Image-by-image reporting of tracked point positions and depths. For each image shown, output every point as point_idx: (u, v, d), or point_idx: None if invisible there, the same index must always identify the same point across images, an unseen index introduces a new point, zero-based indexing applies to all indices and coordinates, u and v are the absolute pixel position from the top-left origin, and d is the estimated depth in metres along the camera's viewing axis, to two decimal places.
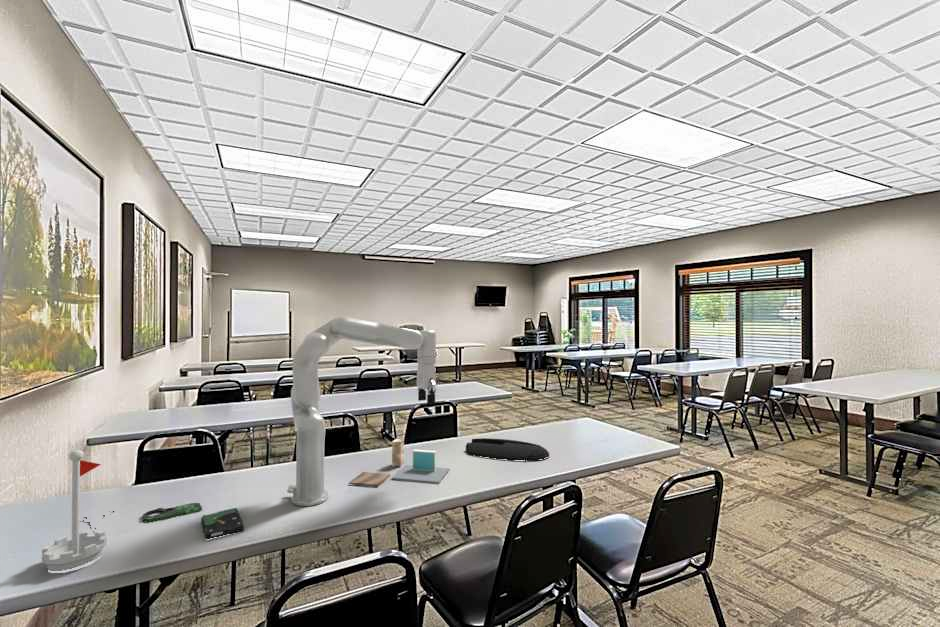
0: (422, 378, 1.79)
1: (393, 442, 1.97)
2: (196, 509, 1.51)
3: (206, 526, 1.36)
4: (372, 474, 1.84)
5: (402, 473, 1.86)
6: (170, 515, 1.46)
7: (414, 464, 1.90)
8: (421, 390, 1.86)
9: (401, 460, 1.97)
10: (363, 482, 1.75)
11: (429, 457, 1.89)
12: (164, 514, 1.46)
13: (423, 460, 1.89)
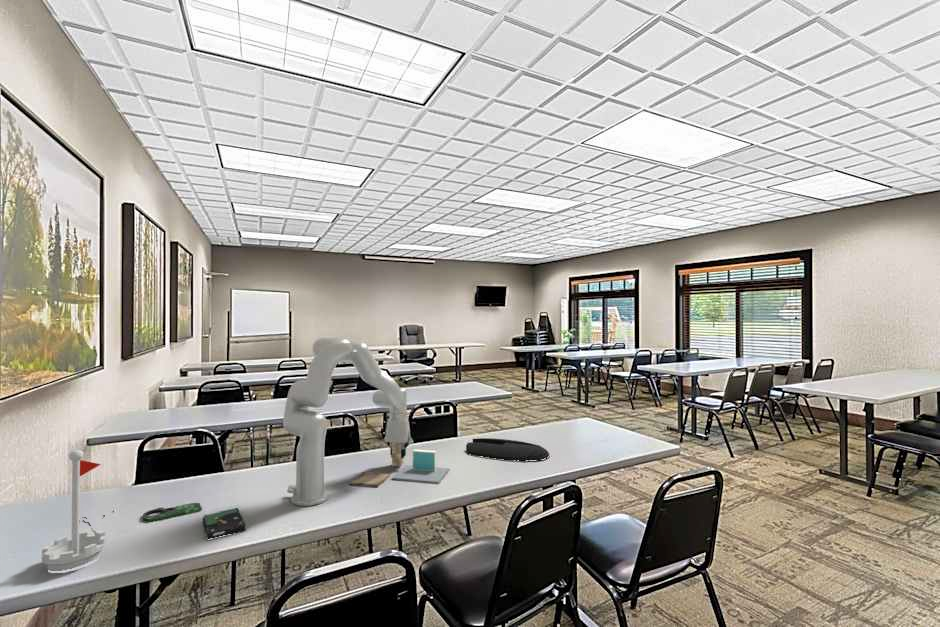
0: (401, 433, 1.95)
1: None
2: (196, 509, 1.50)
3: (208, 526, 1.36)
4: (372, 474, 1.84)
5: (402, 473, 1.86)
6: (170, 515, 1.46)
7: (414, 464, 1.90)
8: None
9: (401, 460, 1.97)
10: (363, 482, 1.75)
11: (429, 457, 1.89)
12: (164, 514, 1.46)
13: (423, 460, 1.89)
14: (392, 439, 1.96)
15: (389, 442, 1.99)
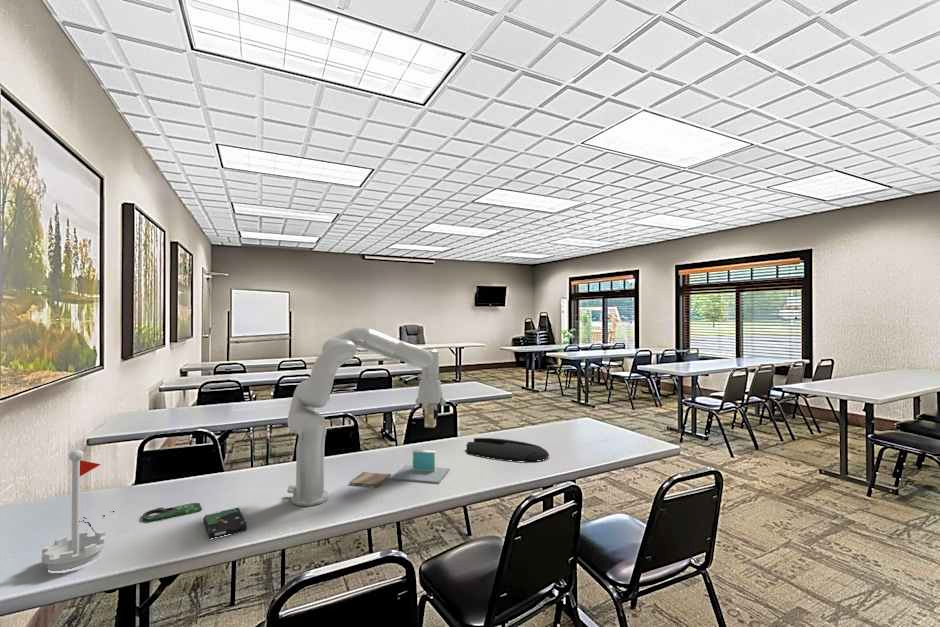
0: (433, 393, 1.95)
1: (426, 403, 1.97)
2: (196, 509, 1.50)
3: (209, 526, 1.36)
4: (372, 474, 1.84)
5: (402, 473, 1.86)
6: (170, 515, 1.46)
7: (414, 464, 1.90)
8: None
9: (433, 421, 1.97)
10: (363, 482, 1.75)
11: (429, 457, 1.89)
12: (164, 514, 1.46)
13: (423, 460, 1.89)
14: (425, 400, 1.96)
15: (421, 403, 1.99)
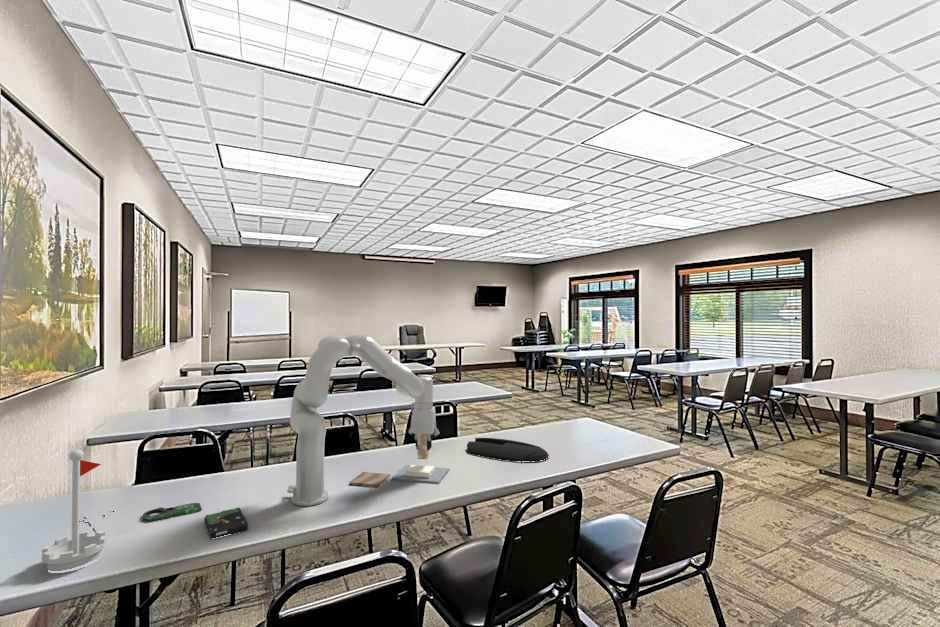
0: (427, 424, 1.86)
1: None
2: (196, 509, 1.50)
3: (210, 525, 1.37)
4: (372, 474, 1.84)
5: (402, 473, 1.86)
6: (170, 515, 1.46)
7: None
8: None
9: (427, 452, 1.88)
10: (363, 482, 1.75)
11: None
12: (164, 514, 1.46)
13: None
14: (418, 430, 1.87)
15: (414, 433, 1.90)
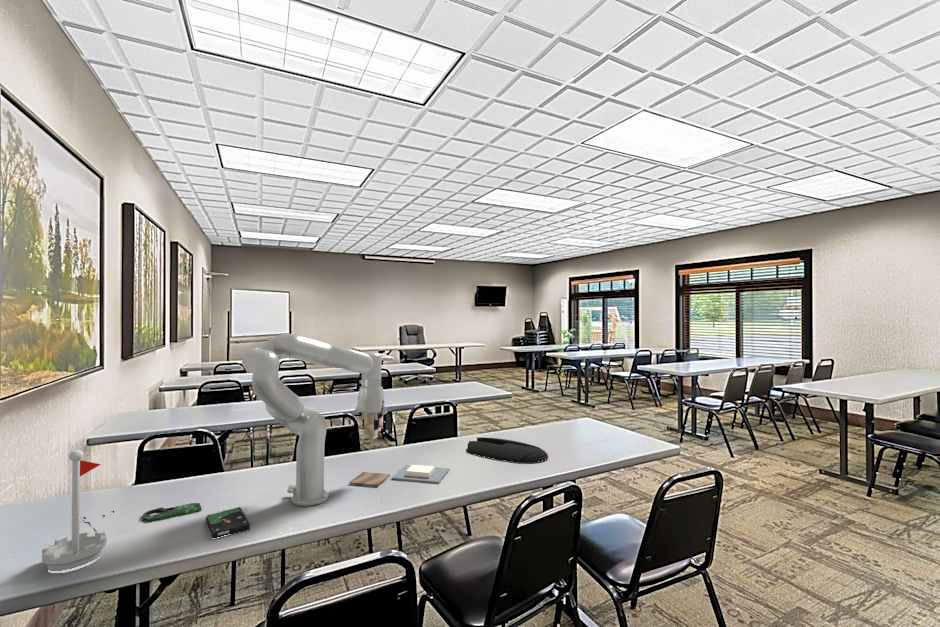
0: (373, 402, 1.77)
1: (365, 412, 1.78)
2: (195, 509, 1.50)
3: (212, 525, 1.37)
4: (372, 474, 1.84)
5: (402, 473, 1.86)
6: (169, 515, 1.46)
7: None
8: None
9: (374, 432, 1.78)
10: (363, 482, 1.75)
11: None
12: (164, 514, 1.46)
13: None
14: (364, 408, 1.78)
15: (361, 412, 1.80)
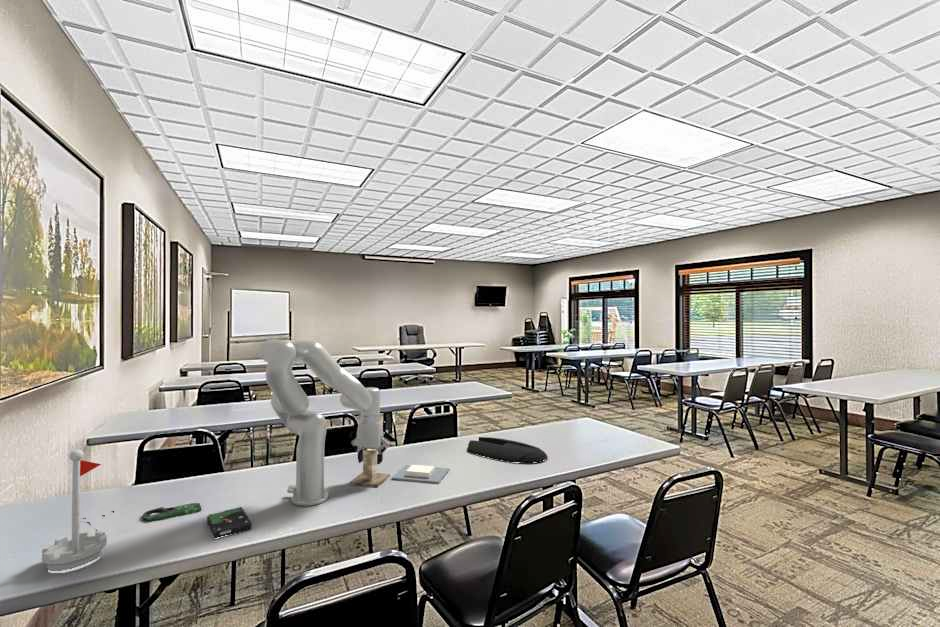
0: (372, 438, 1.77)
1: (364, 452, 1.78)
2: (195, 509, 1.50)
3: (213, 525, 1.37)
4: None
5: (402, 473, 1.86)
6: (169, 515, 1.46)
7: None
8: (361, 451, 1.80)
9: (373, 472, 1.78)
10: (363, 482, 1.75)
11: None
12: (163, 514, 1.46)
13: None
14: (363, 444, 1.77)
15: (356, 446, 1.81)
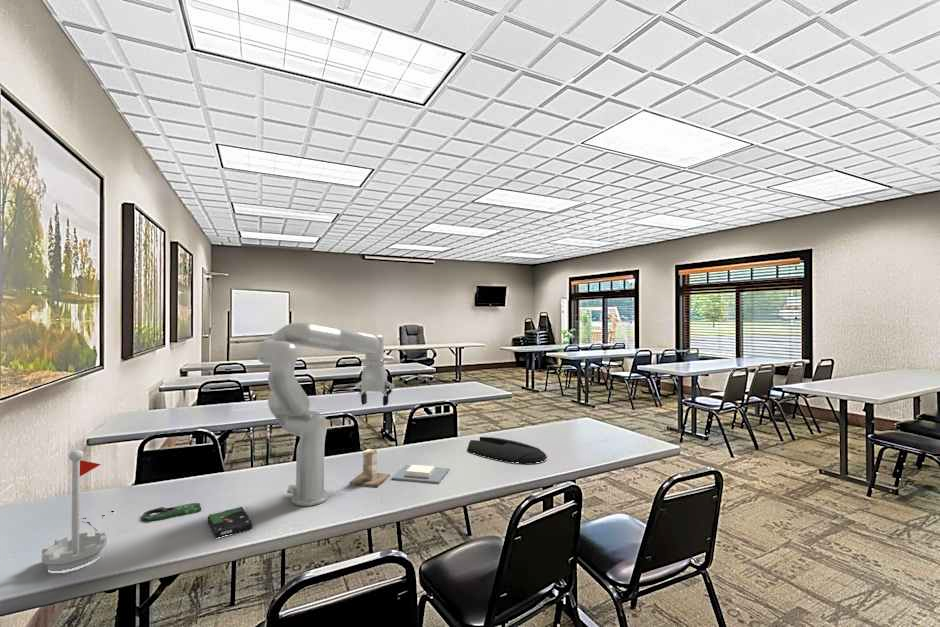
0: (377, 381, 1.84)
1: (364, 452, 1.78)
2: (195, 509, 1.50)
3: (214, 525, 1.37)
4: None
5: (402, 473, 1.86)
6: (169, 515, 1.46)
7: None
8: (364, 394, 1.88)
9: (373, 472, 1.78)
10: (363, 482, 1.75)
11: None
12: (163, 514, 1.46)
13: None
14: (368, 388, 1.85)
15: (360, 389, 1.89)
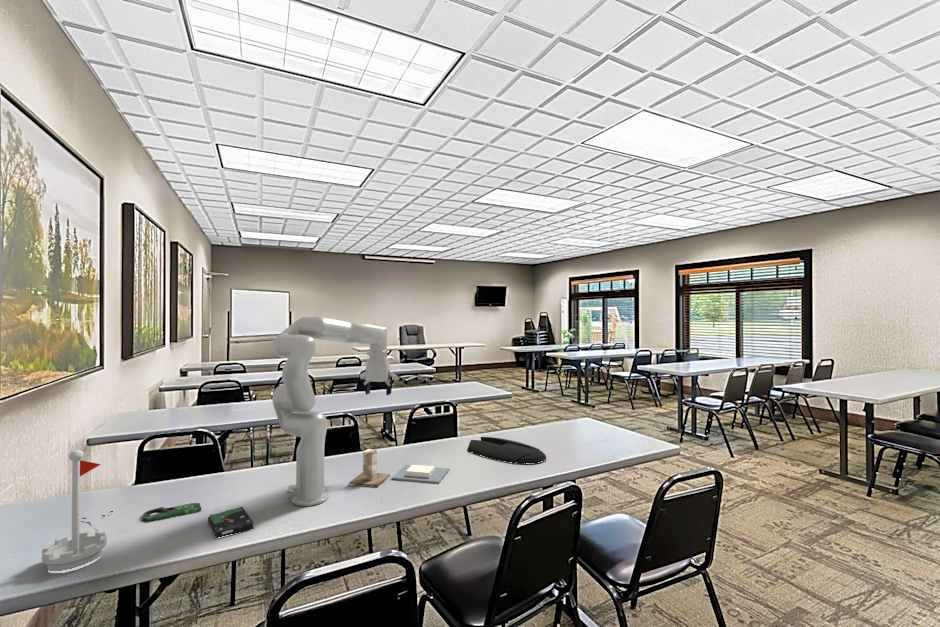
0: (380, 371, 1.91)
1: (364, 452, 1.78)
2: (195, 509, 1.50)
3: (215, 525, 1.37)
4: None
5: (402, 473, 1.86)
6: (169, 515, 1.46)
7: None
8: (368, 384, 1.95)
9: (373, 472, 1.78)
10: (363, 482, 1.75)
11: None
12: (163, 514, 1.46)
13: None
14: (372, 378, 1.92)
15: (364, 379, 1.95)
